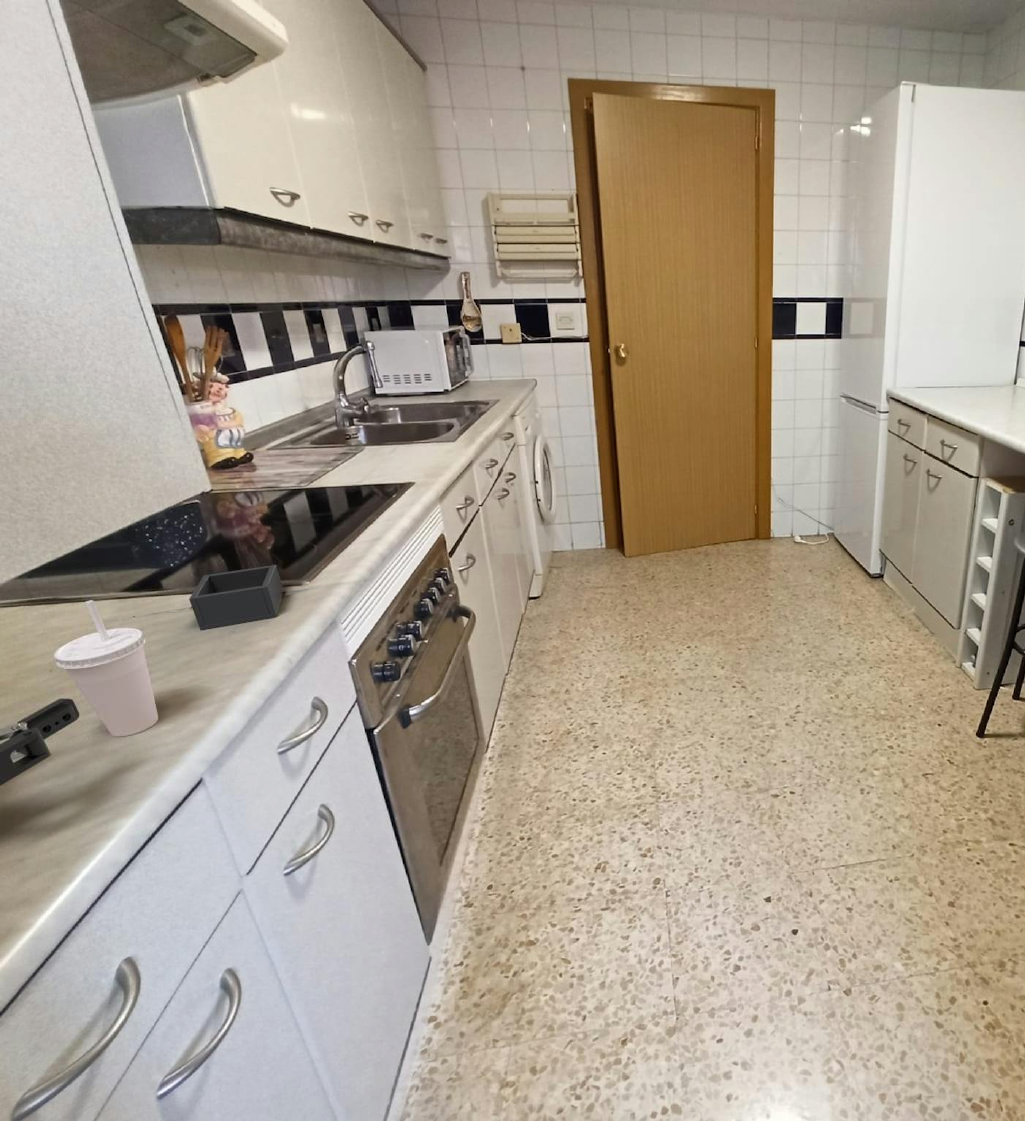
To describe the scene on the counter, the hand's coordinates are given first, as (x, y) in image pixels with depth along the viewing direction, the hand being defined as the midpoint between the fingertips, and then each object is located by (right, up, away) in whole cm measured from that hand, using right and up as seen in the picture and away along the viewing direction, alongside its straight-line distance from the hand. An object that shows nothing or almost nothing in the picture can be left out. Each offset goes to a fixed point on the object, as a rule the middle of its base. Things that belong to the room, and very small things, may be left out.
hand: (27, 704), depth 57 cm
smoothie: (0, -4, +10) cm, 11 cm away
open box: (-6, +6, +33) cm, 34 cm away
